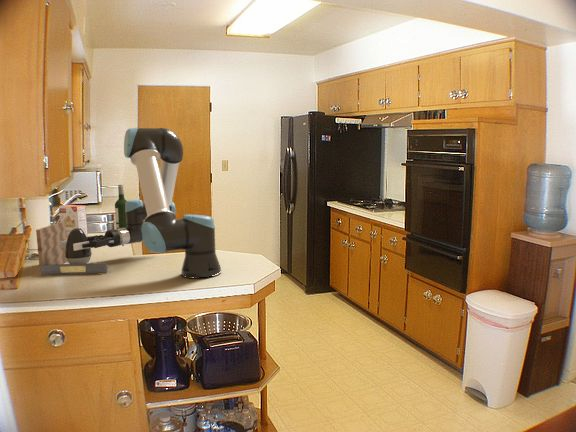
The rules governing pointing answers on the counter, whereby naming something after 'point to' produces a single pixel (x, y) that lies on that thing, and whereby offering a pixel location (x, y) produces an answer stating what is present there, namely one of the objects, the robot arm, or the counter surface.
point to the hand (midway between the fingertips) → (67, 245)
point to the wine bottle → (120, 209)
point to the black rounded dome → (78, 255)
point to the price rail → (73, 269)
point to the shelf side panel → (51, 244)
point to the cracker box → (73, 217)
